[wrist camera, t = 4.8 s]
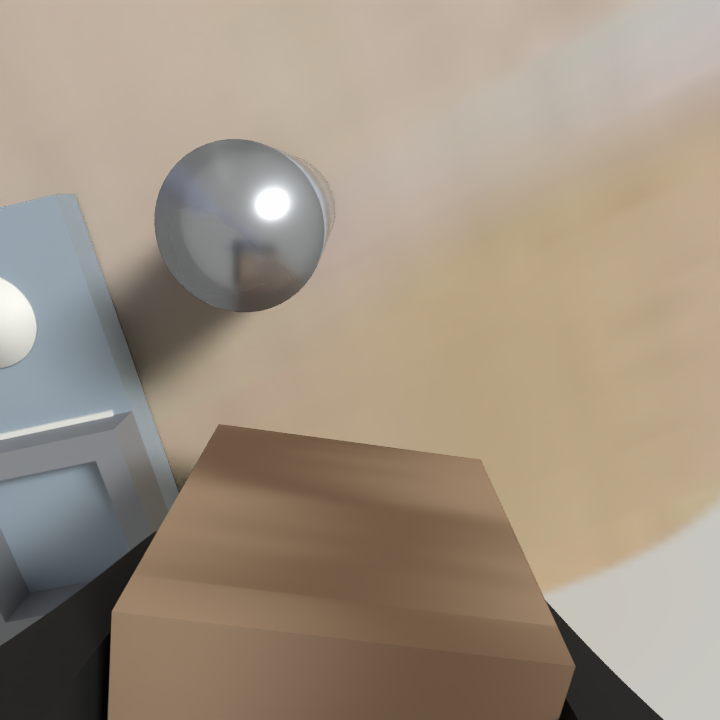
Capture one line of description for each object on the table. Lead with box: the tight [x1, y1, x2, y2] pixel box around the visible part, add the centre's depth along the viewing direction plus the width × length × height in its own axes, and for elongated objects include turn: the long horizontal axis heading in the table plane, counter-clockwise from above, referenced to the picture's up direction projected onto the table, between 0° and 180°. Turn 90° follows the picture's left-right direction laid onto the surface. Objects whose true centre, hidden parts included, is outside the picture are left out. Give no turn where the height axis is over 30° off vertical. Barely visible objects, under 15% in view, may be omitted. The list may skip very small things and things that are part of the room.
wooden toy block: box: [108, 424, 576, 720], centre depth 9 cm, size 5×5×5 cm
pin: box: [155, 139, 335, 312], centre depth 12 cm, size 3×3×6 cm
